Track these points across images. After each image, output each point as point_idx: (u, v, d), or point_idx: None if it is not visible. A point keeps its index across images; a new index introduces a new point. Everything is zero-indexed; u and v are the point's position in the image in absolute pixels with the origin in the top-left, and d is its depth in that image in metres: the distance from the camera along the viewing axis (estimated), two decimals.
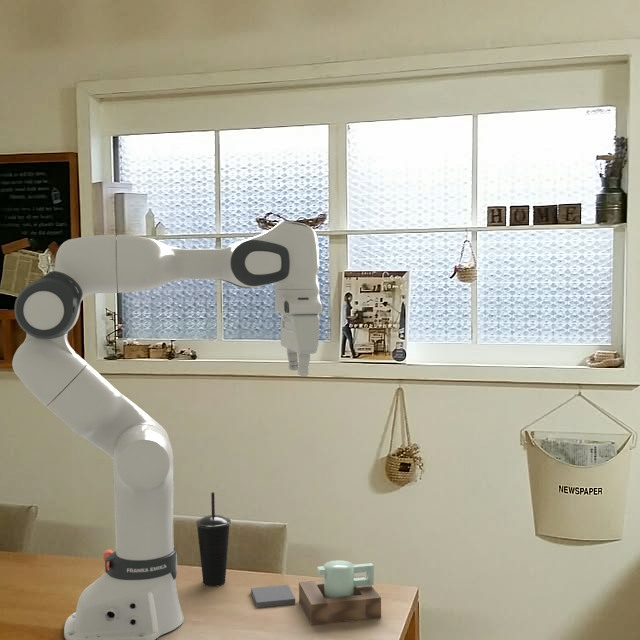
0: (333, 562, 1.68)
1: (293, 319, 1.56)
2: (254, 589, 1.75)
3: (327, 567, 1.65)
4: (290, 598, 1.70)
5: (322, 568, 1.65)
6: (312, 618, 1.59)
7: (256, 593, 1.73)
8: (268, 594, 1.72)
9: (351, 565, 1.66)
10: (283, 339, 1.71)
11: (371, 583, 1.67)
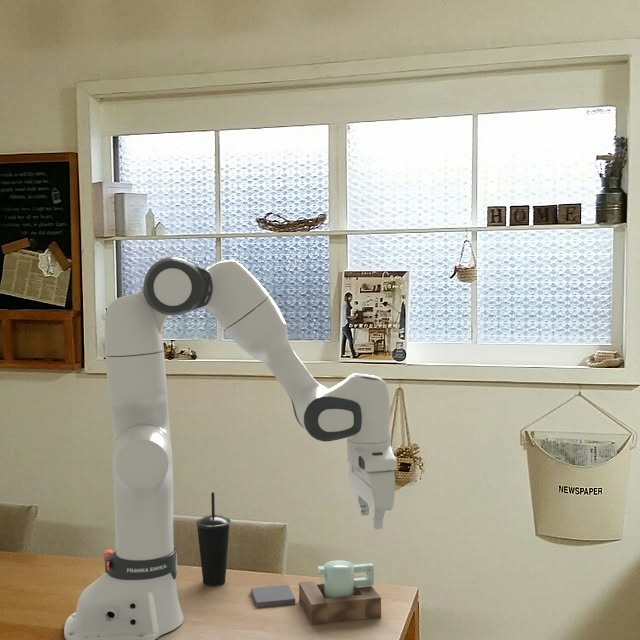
0: (333, 562, 1.68)
1: (369, 477, 1.58)
2: (254, 589, 1.75)
3: (327, 567, 1.65)
4: (290, 598, 1.70)
5: (322, 568, 1.65)
6: (312, 618, 1.59)
7: (256, 593, 1.73)
8: (268, 594, 1.72)
9: (351, 565, 1.66)
10: (353, 483, 1.72)
11: (371, 583, 1.67)
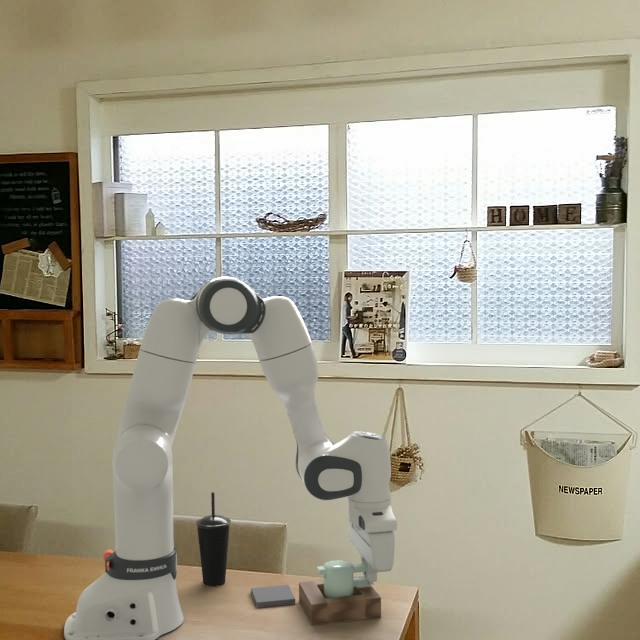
0: (333, 562, 1.68)
1: (369, 538, 1.59)
2: (254, 589, 1.75)
3: (327, 567, 1.65)
4: (290, 598, 1.70)
5: (322, 568, 1.65)
6: (312, 618, 1.59)
7: (256, 593, 1.73)
8: (268, 594, 1.72)
9: (350, 564, 1.66)
10: (353, 539, 1.73)
11: (371, 583, 1.67)
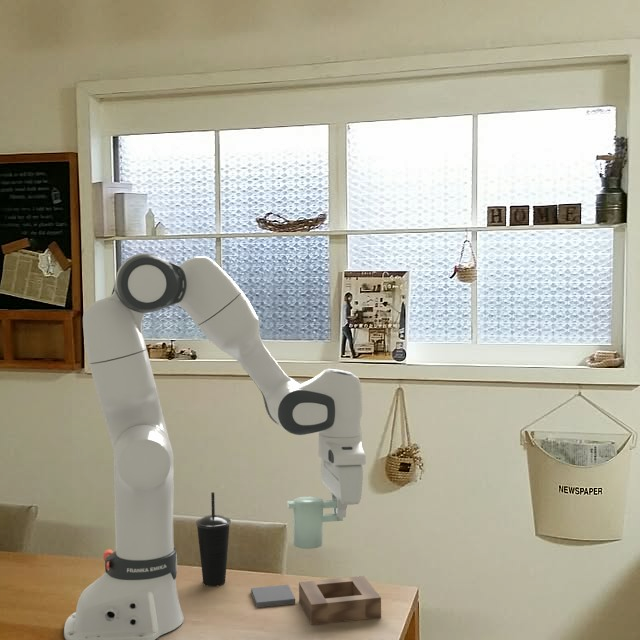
0: (303, 498, 1.70)
1: (337, 470, 1.60)
2: (254, 589, 1.75)
3: (296, 501, 1.67)
4: (290, 598, 1.70)
5: (291, 502, 1.67)
6: (312, 618, 1.59)
7: (256, 593, 1.73)
8: (268, 594, 1.72)
9: (320, 500, 1.68)
10: (324, 478, 1.75)
11: (340, 519, 1.69)
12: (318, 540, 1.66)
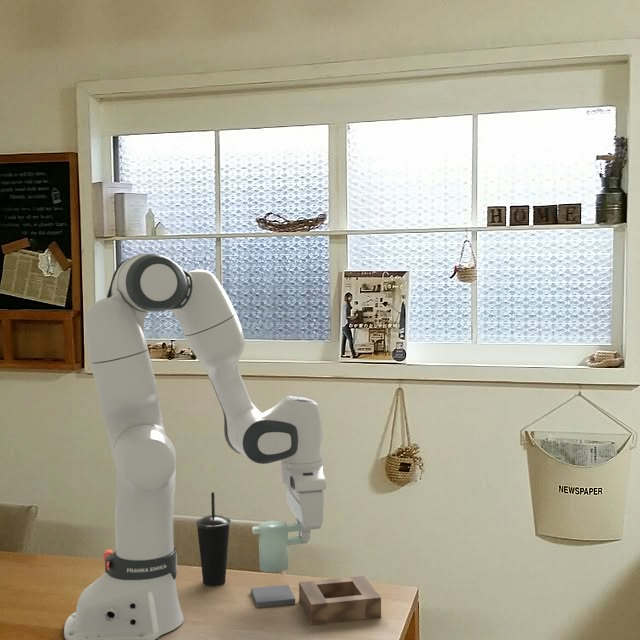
0: (268, 522, 1.74)
1: (299, 496, 1.64)
2: (254, 589, 1.75)
3: (261, 527, 1.71)
4: (290, 598, 1.70)
5: (256, 528, 1.71)
6: (312, 618, 1.59)
7: (256, 593, 1.73)
8: (268, 594, 1.72)
9: (285, 524, 1.72)
10: (289, 501, 1.79)
11: (305, 542, 1.73)
12: (283, 563, 1.70)
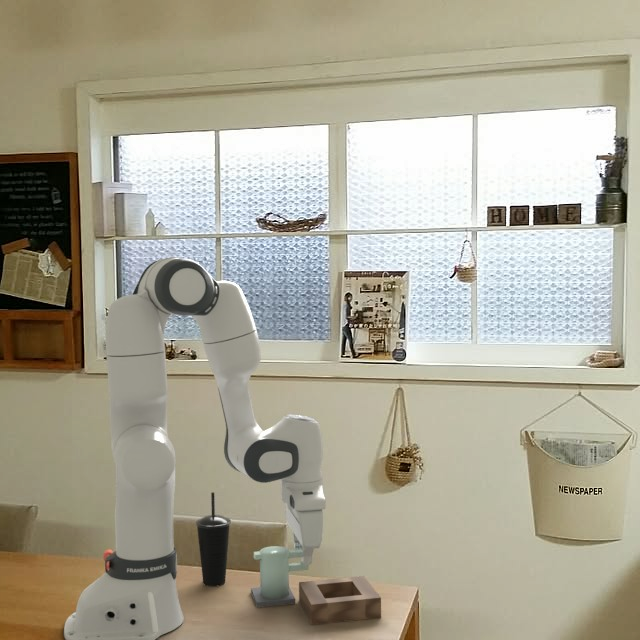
0: (270, 548, 1.74)
1: (298, 516, 1.65)
2: (254, 589, 1.75)
3: (263, 552, 1.71)
4: (290, 598, 1.70)
5: (258, 553, 1.71)
6: (312, 618, 1.59)
7: (256, 593, 1.73)
8: None
9: (286, 550, 1.72)
10: (288, 519, 1.79)
11: (306, 568, 1.73)
12: (284, 589, 1.71)
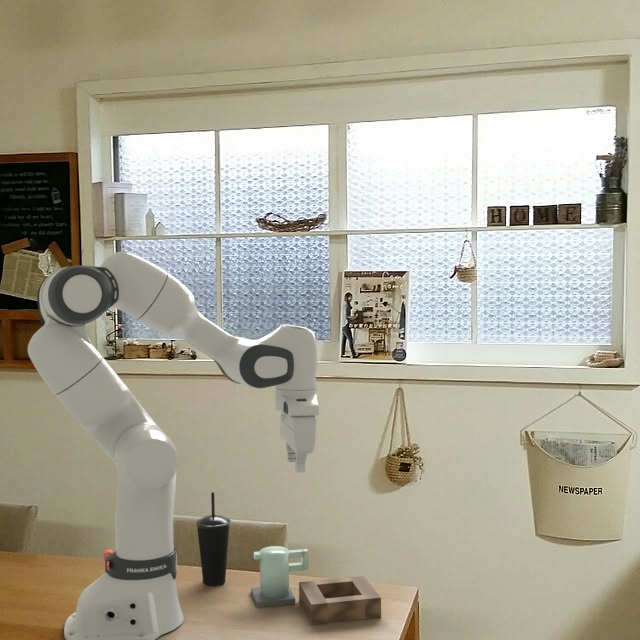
0: (269, 548, 1.74)
1: (291, 421, 1.66)
2: (254, 589, 1.75)
3: (263, 552, 1.71)
4: (290, 598, 1.70)
5: (258, 553, 1.71)
6: (312, 618, 1.59)
7: (256, 593, 1.73)
8: None
9: (286, 550, 1.72)
10: (282, 432, 1.80)
11: (306, 568, 1.73)
12: (284, 589, 1.71)
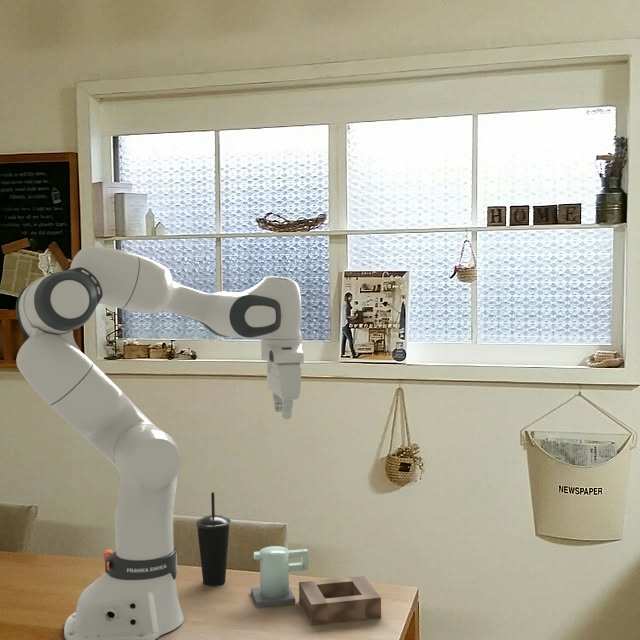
0: (269, 548, 1.74)
1: (277, 368, 1.70)
2: (254, 589, 1.75)
3: (263, 552, 1.71)
4: (290, 598, 1.70)
5: (258, 553, 1.71)
6: (312, 618, 1.59)
7: (256, 593, 1.73)
8: None
9: (286, 550, 1.72)
10: (269, 383, 1.85)
11: (306, 568, 1.73)
12: (284, 589, 1.71)
